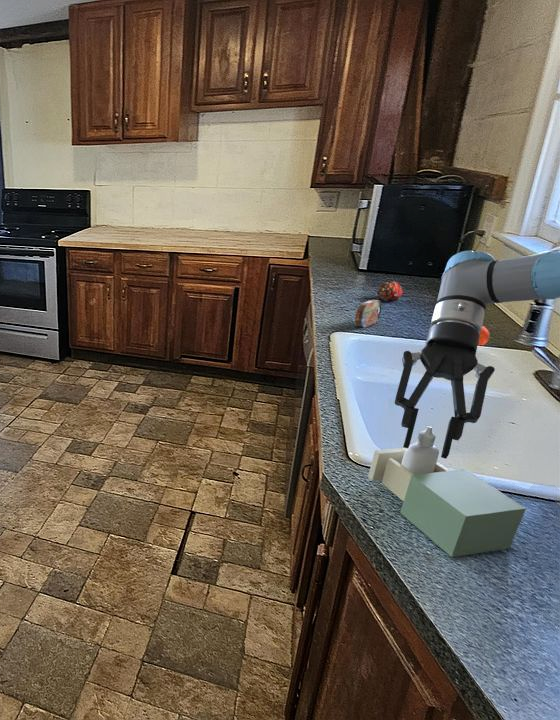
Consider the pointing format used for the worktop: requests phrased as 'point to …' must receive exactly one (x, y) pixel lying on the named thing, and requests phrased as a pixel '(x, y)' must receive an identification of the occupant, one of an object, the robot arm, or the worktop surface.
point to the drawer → (394, 470)
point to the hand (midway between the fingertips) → (425, 450)
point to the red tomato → (483, 336)
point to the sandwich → (368, 313)
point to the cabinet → (461, 512)
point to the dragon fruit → (390, 291)
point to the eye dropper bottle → (421, 454)
